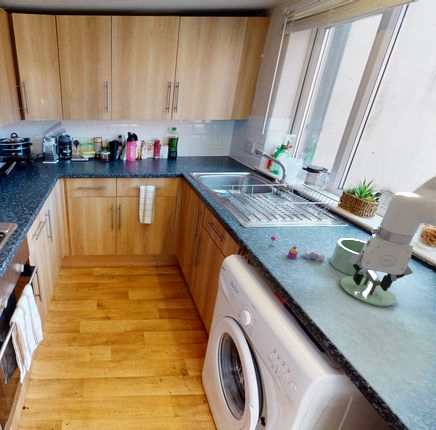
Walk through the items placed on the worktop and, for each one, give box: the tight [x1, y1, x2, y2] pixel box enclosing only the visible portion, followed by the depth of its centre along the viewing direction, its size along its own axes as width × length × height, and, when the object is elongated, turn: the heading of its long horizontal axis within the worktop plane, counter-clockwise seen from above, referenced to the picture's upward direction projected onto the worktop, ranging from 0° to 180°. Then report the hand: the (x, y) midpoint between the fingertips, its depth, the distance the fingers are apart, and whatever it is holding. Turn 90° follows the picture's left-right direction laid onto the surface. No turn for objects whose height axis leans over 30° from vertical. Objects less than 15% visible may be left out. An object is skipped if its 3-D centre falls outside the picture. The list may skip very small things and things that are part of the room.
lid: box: [340, 270, 397, 307], centre depth 90 cm, size 14×14×6 cm
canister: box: [329, 237, 376, 279], centre depth 102 cm, size 13×13×8 cm
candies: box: [270, 235, 325, 262], centre depth 109 cm, size 18×8×6 cm, turn 62°
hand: (369, 285), depth 90 cm, fingers open, 6 cm apart
